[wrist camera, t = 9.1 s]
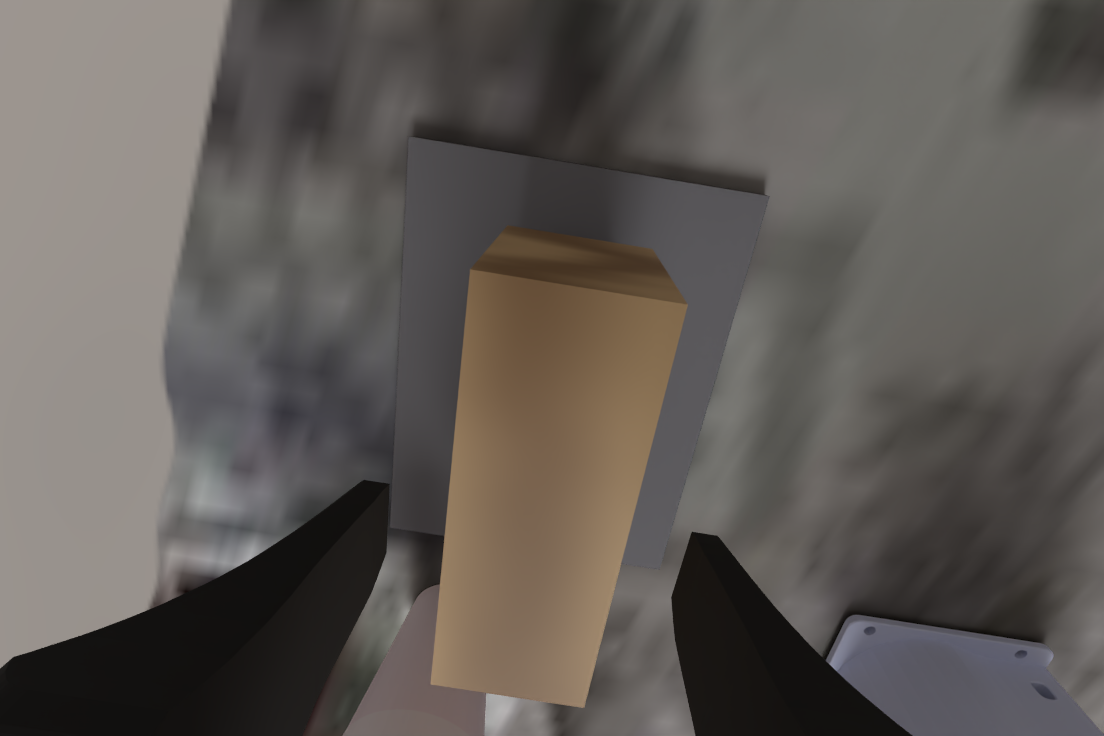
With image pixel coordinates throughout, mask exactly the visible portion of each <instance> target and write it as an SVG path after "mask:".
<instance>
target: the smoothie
mask: <svg viewBox="0 0 1104 736" xmlns="http://www.w3.org/2000/svg"><path fill="white" fill-rule="evenodd" d="M439 590H440V584H439V585H434V586H431V587H429V588H427V589H425V590H424V591H423V592H421V593H420V594H419V595H418V597H417V598H416V600H415V602H414V604H413V606H412V608H411V610H410V611H409V613H408V615H407V617H406V619H405V621H404V623H403V625H402V626H401V628H400V630H399V632H398V634H397V636H396V638H395V640H394V641H393V643H392V645H391V647H390V649H389V651H388V653H387V655H386V656H385V658H384V660H383V662H382V664H381V666H380V668H379V669H378V671H377V673H376V675H375V677H374V679H373V681H372V683H371V684H370V686H369V688H368V690H367V692H366V694H365V696H364V698H363V699H362V701H361V703H360V705H359V707H358V709H357V711H356V713H355V714H354V716H353V718H352V720H351V722H350V724H349V726H348V727H347V729H346V731H345V732H344V734H343V736H484V729H485V706H486V693H483V692H477V691H470V690H464V689H457V688H451V687H444V686H437V685H431V674H432V664H433V653H434V643H435V632H436V622H437V611H438V601H439Z"/></svg>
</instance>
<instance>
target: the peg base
mask: <svg viewBox="0 0 1104 736" xmlns="http://www.w3.org/2000/svg"><path fill="white" fill-rule="evenodd" d="M769 197H770V196H767V195H762V194H756V193H750V192H744V191H738V190H732V189H726V188H720V187H714V186H708V185H702V184H696V183H690V182H684V181H678V180H672V179H666V178H660V177H654V176H648V175H642V174H636V173H630V172H624V171H618V170H612V169H606V168H600V167H593V166H587V165H581V164H575V163H569V162H563V161H557V160H551V159H545V158H539V157H533V156H527V155H521V154H515V153H509V152H503V151H497V150H491V149H485V148H479V147H473V146H467V145H461V144H455V143H449V142H443V141H437V140H431V139H425V138H419V137H408V158H407V179H406V200H405V221H404V242H403V264H402V285H401V306H400V327H399V348H398V369H397V390H396V411H395V432H394V453H393V474H392V495H391V516H390V528H396V529H403V530H409V531H415V532H422V533H428V534H435V535H441V536H445V528H446V517H447V507H448V496H449V486H450V475H451V465H452V454H453V444H454V433H455V423H456V412H457V402H458V391H459V381H460V370H461V360H462V349H463V339H464V329H465V318H466V308H467V297H468V287H469V276H470V269H471V268H472V267H473V265H474V264H475V263H476V262H477V261H478V260H479V258H480V257H481V256H482V255H483V254H484V252H485V251H486V250H487V249H488V248H489V247H490V245H491V244H492V243H493V242H494V241H495V239H496V238H497V237H498V236H499V235H500V234H501V232H502V231H503V230H504V229H505V228H506V226H507V225H509V226H515V227H521V228H528V229H534V230H540V231H546V232H552V233H558V234H564V235H570V236H577V237H583V238H589V239H595V240H601V241H607V242H613V243H619V244H625V245H632V246H638V247H644V248H650V249H653V250H654V252H655V254H656V255H657V257H658V258H659V260H660V261H661V263H662V265H663V266H664V268H665V269H666V271H667V272H668V274H669V276H670V277H671V279H672V280H673V282H674V284H675V285H676V287H677V288H678V290H679V291H680V293H681V295H682V296H683V298H684V299H685V301H686V302H687V304H688V306H687V310H686V314H685V318H684V322H683V326H682V330H681V333H680V337H679V341H678V345H677V349H676V353H675V357H674V361H673V364H672V368H671V372H670V376H669V380H668V384H667V388H666V392H665V396H664V399H663V403H662V407H661V411H660V415H659V419H658V423H657V427H656V430H655V434H654V438H653V442H652V446H651V450H650V454H649V458H648V461H647V465H646V469H645V473H644V477H643V481H642V485H641V489H640V492H639V496H638V500H637V504H636V508H635V512H634V516H633V520H632V523H631V527H630V531H629V535H628V539H627V543H626V547H625V551H624V555H623V558H622V562H621V564H626V565H632V566H639V567H645V568H652V569H658V570H660V566H661V563H662V559H663V556H664V553H665V549H666V546H667V542H668V539H669V536H670V532H671V529H672V526H673V522H674V519H675V515H676V512H677V509H678V505H679V502H680V498H681V495H682V492H683V488H684V485H685V481H686V478H687V475H688V471H689V468H690V465H691V461H692V458H693V454H694V451H695V448H696V444H697V441H698V437H699V434H700V431H701V427H702V424H703V420H704V417H705V414H706V410H707V407H708V403H709V400H710V397H711V393H712V390H713V387H714V383H715V380H716V376H717V373H718V370H719V366H720V363H721V359H722V356H723V353H724V349H725V346H726V342H727V339H728V336H729V332H730V329H731V326H732V322H733V319H734V315H735V312H736V309H737V305H738V302H739V298H740V295H741V292H742V288H743V285H744V281H745V278H746V275H747V271H748V268H749V265H750V261H751V258H752V254H753V251H754V248H755V244H756V241H757V237H758V234H759V231H760V227H761V224H762V220H763V217H764V214H765V210H766V207H767V204H768V200H769Z"/></svg>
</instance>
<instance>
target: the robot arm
mask: <svg viewBox="0 0 1104 736" xmlns="http://www.w3.org/2000/svg"><path fill="white" fill-rule="evenodd" d="M388 505H389V484H386V483H379V482H373V481H367V480H363V481H362V482H360V483H359V484H357V485H356V486H355V487H353V488H352V489H351V490H349V491H348V492H347V493H345V494H344V495H343V496H342V497H340V498H339V499H338V500H336V501H335V502H334V503H332V504H331V505H330V506H328V507H327V508H326V509H324V510H323V511H322V512H320V513H319V514H318V515H316V516H315V517H313V518H312V519H311V520H309V521H308V522H307V523H305V524H304V525H302V526H301V527H300V528H298V529H297V530H295V531H294V532H292V533H291V534H290V535H288V536H287V537H285V538H283V539H282V540H280V541H279V542H277V543H276V544H274V545H273V546H271V547H270V548H268V549H267V550H265V551H264V552H262V553H260V554H259V555H257V556H256V557H254V558H252V559H251V560H249V561H247V562H245V563H244V564H242V565H240V566H238V567H237V568H235V569H233V570H231V571H229V572H227V573H225V574H224V575H222V576H220V577H218V578H216V579H214V580H212V581H210V582H208V583H206V584H204V585H202V586H200V587H198V588H196V589H194V590H191V591H189V592H187V593H185V594H183V595H181V596H179V597H176V598H174V599H172V600H170V601H168V602H166V603H164V604H161V605H159V606H157V607H154V608H152V609H150V610H147V611H145V612H142V613H140V614H137V615H135V616H133V617H130V618H127V619H125V620H122V621H120V622H117V623H114V624H112V625H109V626H106V627H104V628H101V629H98V630H96V631H93V632H90V633H87V634H84V635H82V636H78V637H75V638H72V639H69V640H66V641H63V642H60V643H57V644H54V645H50V646H48V647H44V648H41V649H38V650H35V651H32V652H29V653H26V654H22V655H19V656H16V657H13V658H12V659H11V660H10V661H9V662H7V663H6V664H5V665H4V666H3V667H2V668H0V736H302V735H303V732H304V730H305V727H306V725H307V723H308V720H309V718H310V715H311V713H312V710H313V708H314V705H315V703H316V701H317V699H318V697H319V694H320V692H321V690H322V688H323V686H324V684H325V682H326V680H327V678H328V676H329V674H330V672H331V670H332V668H333V666H334V664H335V662H336V661H337V659H338V657H339V655H340V653H341V651H342V649H343V647H344V645H345V643H346V641H347V639H348V637H349V635H350V634H351V632H352V630H353V628H354V626H355V624H356V622H357V620H358V618H359V616H360V614H361V612H362V610H363V608H364V606H365V604H366V602H367V600H368V598H369V596H370V594H371V592H372V590H373V587H374V585H375V582H376V579H377V577H378V574H379V571H380V569H381V566H382V563H383V560H384V558H385V555H386V549H387V527H388ZM671 599H672V612H673V624H674V634H675V642H676V647H677V652H678V656H679V661H680V666H681V671H682V675H683V680H684V684H685V689H686V694H687V698H688V703H689V707H690V712H691V717H692V721H693V726H694V730H695V735H696V736H1104V734H1103V733H1102V732H1101V731H1100V730H1099V728H1098V727H1097V726H1096V725H1095V724H1094V723H1093V722H1092V720H1091V719H1090V718H1089V717H1088V716H1087V715H1086V714H1085V712H1084V711H1083V710H1082V709H1081V708H1080V707H1079V706H1078V704H1077V703H1076V702H1075V701H1074V700H1073V699H1072V698H1071V696H1070V695H1069V694H1068V693H1067V692H1066V691H1065V690H1064V688H1063V687H1062V686H1061V685H1060V684H1059V683H1058V682H1057V680H1056V679H1055V678H1054V677H1053V676H1052V675H1051V674H1050V672H1049V671H1048V670H1047V669H1046V667H1047V666H1048V664H1049V663H1050V662H1051V660H1052V658H1053V656H1054V655H1053V652H1052V651H1051V650H1050V649H1049V647H1048V646H1047V645H1045V644H1042V643H1036V642H1030V641H1023V640H1017V639H1011V638H1004V637H998V636H991V635H985V634H979V633H972V632H966V631H959V630H953V629H947V628H940V627H934V626H927V625H921V624H915V623H908V622H902V621H895V620H889V619H883V618H876V617H870V616H863V615H852V616H850V617H848V618H847V619H846V620H845V622H844V624H843V626H842V628H841V630H840V632H839V634H838V636H837V638H836V640H835V643H834V645H833V647H832V649H831V651H830V653H829V655H828V657H827V659H826V661H825V660H824V659H823V658H822V657H821V656H820V655H819V654H818V653H817V652H816V651H815V650H814V649H813V648H812V647H811V646H810V645H809V644H808V643H807V642H806V641H805V640H804V638H803V637H802V636H801V635H800V634H799V633H798V632H797V631H796V630H795V629H794V628H793V627H792V625H791V624H790V623H789V622H788V621H787V620H786V619H785V618H784V617H783V615H782V614H781V613H780V612H779V611H778V610H777V609H776V608H775V606H774V605H773V604H772V603H771V602H770V600H769V599H768V598H767V597H766V596H765V594H764V593H763V592H762V591H761V590H760V588H759V587H758V586H757V585H756V584H755V582H754V581H753V580H752V579H751V577H750V576H749V575H748V574H747V572H746V571H745V570H744V569H743V567H742V566H741V565H740V563H739V562H738V561H737V560H736V558H735V557H734V556H733V555H732V553H731V552H730V551H729V550H728V548H727V547H726V546H725V545H724V543H723V542H722V541H721V540H720V538H719V537H718V536H715V535H708V534H702V533H696V532H692V533H691V536H690V539H689V543H688V546H687V549H686V552H685V555H684V559H683V562H682V565H681V568H680V571H679V575H678V578H677V581H676V584H675V587H674V591H673V594H672V597H671ZM867 627H868V628H867Z"/></svg>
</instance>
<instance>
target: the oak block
mask: <svg viewBox="0 0 1104 736" xmlns="http://www.w3.org/2000/svg"><path fill="white" fill-rule="evenodd" d="M687 306H688V304H687V302H686V301H685V299H684V298H683V296H682V295H681V293H680V291H679V290H678V288H677V287H676V285H675V284H674V282H673V280H672V279H671V277H670V276H669V274H668V272H667V271H666V269H665V268H664V266H663V265H662V263H661V261H660V260H659V258H658V257H657V255H656V254H655V252H654V250H653V249H650V248H644V247H638V246H632V245H625V244H619V243H613V242H607V241H601V240H595V239H589V238H583V237H577V236H570V235H564V234H558V233H552V232H546V231H540V230H534V229H528V228H521V227H515V226H509V225H507V226H506V228H505V229H504V230H503V231H502V232H501V234H500V235H499V236H498V237H497V238H496V239H495V241H494V242H493V243H492V244H491V245H490V247H489V248H488V249H487V250H486V251H485V252H484V254H483V255H482V256H481V257H480V258H479V260H478V261H477V262H476V263H475V264H474V265H473V267H472V268H471V269H470V276H469V287H468V297H467V308H466V318H465V329H464V339H463V349H462V360H461V370H460V381H459V391H458V402H457V412H456V423H455V433H454V444H453V454H452V465H451V475H450V486H449V496H448V507H447V517H446V528H445V538H444V548H443V559H442V569H441V580H440V590H439V601H438V611H437V622H436V632H435V643H434V653H433V664H432V674H431V685H437V686H444V687H451V688H457V689H464V690H470V691H477V692H483V693H490V694H496V695H503V696H510V697H516V698H523V699H529V700H536V701H542V702H549V703H555V704H562V705H568V706H575V707H582V708H584V706H585V702H586V698H587V694H588V690H589V686H590V682H591V679H592V675H593V671H594V667H595V663H596V659H597V655H598V651H599V648H600V644H601V640H602V636H603V632H604V628H605V624H606V620H607V617H608V613H609V609H610V605H611V601H612V597H613V593H614V589H615V586H616V582H617V578H618V574H619V570H620V566H621V562H622V558H623V555H624V551H625V547H626V543H627V539H628V535H629V531H630V527H631V523H632V520H633V516H634V512H635V508H636V504H637V500H638V496H639V492H640V489H641V485H642V481H643V477H644V473H645V469H646V465H647V461H648V458H649V454H650V450H651V446H652V442H653V438H654V434H655V430H656V427H657V423H658V419H659V415H660V411H661V407H662V403H663V399H664V396H665V392H666V388H667V384H668V380H669V376H670V372H671V368H672V364H673V361H674V357H675V353H676V349H677V345H678V341H679V337H680V333H681V330H682V326H683V322H684V318H685V314H686V310H687Z"/></svg>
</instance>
